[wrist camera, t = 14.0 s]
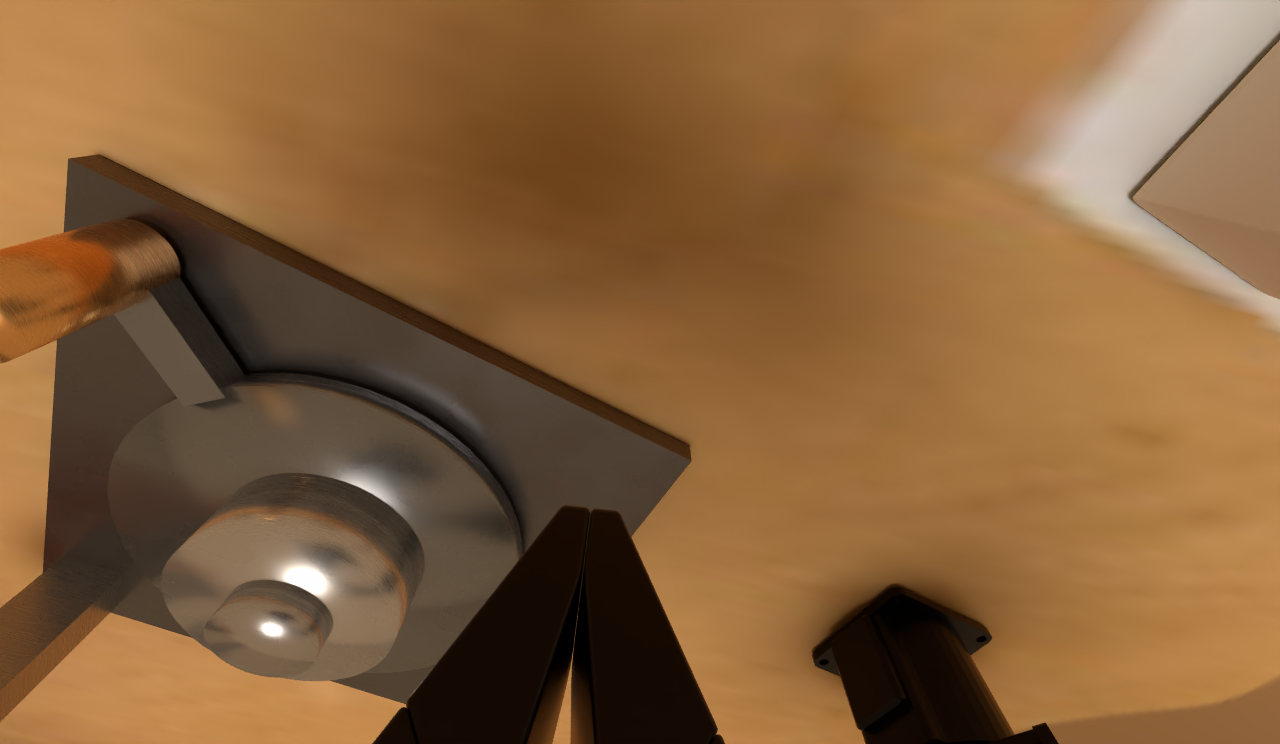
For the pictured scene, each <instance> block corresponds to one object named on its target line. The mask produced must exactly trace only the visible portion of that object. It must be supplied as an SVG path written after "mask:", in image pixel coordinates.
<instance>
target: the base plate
mask: <svg viewBox="0 0 1280 744" xmlns="http://www.w3.org/2000/svg"><path fill="white" fill-rule="evenodd" d="M114 219H131V220H135V221H138V222H141V223H143V224H145V225H147V226H149V227H151V228H152V229H154V230H155V231H157V232H158V233H159V234H160V235H161V236H162V237H163V238H165V239H166V241H167V242H168V243H169V244H170V245H171V247H172V248H173V250H174V251H175V253H176V255H177V257H178V260H179V264H180V279H181V281H182V282H183V284H184V285H185V287H186V288H187V290H188V291H189V293H190V294H191V296H192V297H193V299H194V300H195V302H196V303H197V305H198V306H199V308H200V309H201V310H202V312H203V313H204V315H205V316H206V318H207V319H208V321H209V322H210V324H211V325H212V327H213V328H214V330H215V331H216V333H217V334H218V336H219V337H220V339H221V340H222V342H223V343H224V345H225V346H226V348H227V349H228V351H229V352H230V354H231V355H232V357H233V358H234V360H235V361H236V363H237V364H238V366H239V367H240V368H241V370H242V371H243V373H244V374H249V373H291V374H302V375H312V376H317V377H322V378H327V379H332V380H337V381H342V382H345V383H348V384H352V385H355V386H358V387H361V388H365V389H368V390H371V391H373V392H376V393H378V394H381V395H383V396H386V397H388V398H390V399H393V400H395V401H398V402H400V403H402V404H404V405H405V406H407V407H409V408H411V409H413V410H415V411H417V412H419V413H420V414H422V415H424V416H426V417H427V418H429V419H430V420H432V421H433V422H435V423H436V424H438V425H439V426H441V427H442V428H444V429H445V430H447V431H448V432H450V433H451V434H452V435H453V436H454V437H456V438H457V439H458V440H459V441H460V442H462V443H463V444H464V445H465V446H466V447H468V448H469V449H470V450H471V451H472V452H473V453H474V454H475V455H476V456H477V457H478V458H479V460H480V461H481V462H482V463H483V464H484V465H485V466H486V467H487V468H488V469H489V471H490V472H491V473H492V475H493V476H494V477H495V479H496V480H497V481H498V483H499V484H500V485H501V487H502V489H503V490H504V492H505V494H506V496H507V498H508V499H509V501H510V503H511V505H512V507H513V510H514V513H515V515H516V518H517V521H518V523H519V528H520V533H521V538H522V554H524V553H525V552H526V550H527V549H528V548H529V547H530V545H531V544H532V543H533V542H534V540H535V539H536V538H537V537H538V535H539V534H540V533H541V532H542V530H543V529H544V528H545V527H546V525H547V524H548V523H549V521H550V520H551V519H552V518H553V516H554V515H555V514H556V513H557V511H558V510H559V509H560V508H561V507H562V506H564V505H570V506H579V507H587V508H588V509H589V510H590V515H591V511H592V510H593V509H595V508H598V509H607V510H615V511H618V512H619V513H620V514H621V516H622V518H623V520H624V522H625V525H626V527H627V529H628V531H629V533H630V536H632V535H633V534H634V532H635V531H636V530H637V529H638V527H639V526H640V525H641V524H642V522H643V521H644V520H645V519H646V517H647V516H648V515H649V514H650V512H651V511H652V510H653V509H654V507H655V506H656V505H657V504H658V502H659V501H660V500H661V499H662V497H663V496H664V495H665V493H666V492H667V491H668V490H669V488H670V487H671V486H672V485H673V483H674V482H675V481H676V480H677V478H678V477H679V476H680V475H681V473H682V472H683V471H684V470H685V468H686V467H687V466H688V465H689V463H690V462H691V453H690V445H687V444H685V443H683V442H681V441H679V440H677V439H675V438H673V437H671V436H669V435H667V434H665V433H663V432H661V431H659V430H657V429H655V428H653V427H651V426H649V425H647V424H645V423H643V422H641V421H639V420H637V419H635V418H633V417H631V416H629V415H627V414H625V413H622V412H620V411H618V410H616V409H614V408H612V407H610V406H608V405H606V404H604V403H602V402H600V401H598V400H596V399H594V398H592V397H590V396H588V395H586V394H584V393H582V392H580V391H578V390H576V389H574V388H572V387H570V386H568V385H566V384H564V383H562V382H560V381H557V380H555V379H553V378H551V377H549V376H547V375H545V374H543V373H541V372H539V371H537V370H535V369H533V368H531V367H529V366H527V365H525V364H523V363H521V362H519V361H517V360H515V359H513V358H511V357H509V356H507V355H505V354H503V353H501V352H499V351H497V350H495V349H492V348H490V347H488V346H486V345H484V344H482V343H480V342H478V341H476V340H474V339H472V338H470V337H468V336H466V335H464V334H462V333H460V332H458V331H456V330H454V329H452V328H450V327H448V326H446V325H444V324H442V323H440V322H438V321H436V320H434V319H432V318H430V317H427V316H425V315H423V314H421V313H419V312H417V311H415V310H413V309H411V308H409V307H407V306H405V305H403V304H401V303H399V302H397V301H395V300H393V299H391V298H389V297H387V296H385V295H383V294H381V293H379V292H377V291H375V290H373V289H371V288H369V287H367V286H365V285H362V284H360V283H358V282H356V281H354V280H352V279H350V278H348V277H346V276H344V275H342V274H340V273H338V272H336V271H334V270H332V269H330V268H328V267H326V266H324V265H322V264H320V263H318V262H316V261H314V260H312V259H310V258H308V257H306V256H304V255H302V254H300V253H297V252H295V251H293V250H291V249H289V248H287V247H285V246H283V245H281V244H279V243H277V242H275V241H273V240H271V239H269V238H267V237H265V236H263V235H261V234H259V233H257V232H255V231H253V230H251V229H249V228H247V227H245V226H243V225H241V224H239V223H237V222H235V221H232V220H230V219H228V218H226V217H224V216H222V215H220V214H218V213H216V212H214V211H212V210H210V209H208V208H206V207H204V206H202V205H200V204H198V203H196V202H194V201H192V200H190V199H188V198H186V197H184V196H182V195H180V194H178V193H176V192H174V191H172V190H170V189H167V188H165V187H163V186H161V185H159V184H157V183H155V182H153V181H151V180H149V179H147V178H145V177H143V176H141V175H139V174H137V173H135V172H133V171H131V170H129V169H127V168H125V167H123V166H121V165H119V164H117V163H115V162H113V161H111V160H109V159H107V158H105V157H103V156H100V155H92V156H84V157H77V158H70V159H68V172H67V188H66V204H65V221H64V233H65V232H69V231H72V230H76V229H80V228H84V227H88V226H91V225H95V224H99V223H103V222H107V221H110V220H114ZM174 397H175V394H174V393H173V392H172V390H171V389H170V388H169V386H168V385H167V384H166V382H165V381H164V380H163V378H162V377H161V376H160V375H159V373H158V372H157V371H156V369H155V368H154V367H153V365H152V364H151V363H150V361H149V360H148V359H147V357H146V356H145V355H144V353H143V352H142V351H141V349H140V348H139V347H138V346H137V344H136V343H135V342H134V340H133V339H132V338H131V336H130V335H129V334H128V332H127V331H126V330H125V328H124V327H123V326H122V324H121V323H120V322H119V321H118V319H117V318H116V317H115V315H112V316H109V317H107V318H105V319H103V320H100V321H98V322H96V323H94V324H91V325H89V326H87V327H85V328H82V329H80V330H78V331H76V332H73V333H71V334H69V335H66V336H64V337H62V338H60V339H57V351H56V368H55V384H54V400H53V417H52V433H51V449H50V466H49V482H48V498H47V515H46V531H45V547H44V564H43V573H44V572H45V571H46V570H48V569H49V568H50V567H51V566H52V565H54V564H55V563H56V562H57V561H58V560H60V559H61V558H62V557H63V556H67V557H70V558H74V559H77V560H80V561H83V562H86V563H89V564H92V565H95V566H98V567H101V568H104V569H107V570H110V571H113V572H116V573H119V574H122V575H123V578H122V584H121V590H120V596H119V602H118V605H117V606H116V607H115V608H114V609H113V610H112V611H111V613H114V614H118V615H121V616H124V617H127V618H130V619H134V620H137V621H140V622H143V623H146V624H150V625H153V626H156V627H159V628H163V629H166V630H169V631H172V632H175V633H179V634H182V635H185V636H188V637H191V636H190V635H189V634H188V633H187V632H186V631H185V630H184V629H183V628H182V627H181V626H180V625H179V623H178V622H177V621H176V620H175V619H174V617H173V616H172V614H171V613H170V611H169V610H168V607H167V605H166V603H165V601H164V598H163V594H162V592H161V591H160V590H159V589H158V588H157V587H156V586H155V585H154V584H153V583H152V582H151V581H150V580H149V579H148V578H147V577H146V575H145V574H144V573H143V572H142V571H141V570H140V569H139V567H138V566H137V565H136V563H135V562H134V560H133V559H132V557H131V556H130V554H129V553H128V552H127V550H126V548H125V546H124V545H123V543H122V541H121V539H120V537H119V535H118V533H117V531H116V528H115V525H114V522H113V519H112V516H111V513H110V507H109V500H108V493H107V491H108V476H109V470H110V467H111V464H112V460H113V457H114V454H115V453H116V451H117V449H118V447H119V446H120V444H121V442H122V440H123V438H124V437H125V436H126V435H127V434H128V433H129V432H130V431H131V430H132V429H133V427H134V426H135V425H136V424H137V423H138V422H140V421H141V420H142V419H144V418H145V417H146V416H148V415H149V414H151V413H152V412H153V411H155V410H156V409H158V408H159V407H161V406H162V405H164V404H165V403H167V402H168V401H170V400H171V399H172V398H174ZM589 522H590V520H589ZM588 530H589V528H588ZM587 538H588V536H587ZM586 546H587V544H586ZM585 554H586V552H585ZM584 562H585V560H584ZM583 570H584V568H583ZM582 578H583V576H582ZM581 586H582V584H581ZM580 594H581V592H580ZM579 602H580V600H579ZM191 638H193V637H191ZM434 666H435V665H432V666H429V667H425V668H420V669H415V670H409V671H402V672H391V673H361V674H358V675H355V676H352V677H348V678H343V679H338V680H330V681H333V682H336V683H339V684H343V685H346V686H349V687H352V688H356V689H359V690H362V691H365V692H368V693H372V694H375V695H378V696H381V697H384V698H388V699H391V700H394V701H397V702H401V703H404V704H406V702H407V700H408V699H409V697H410V696H411V695H412V694H413V692H414V691H415V690H416V689H417V687H418V686H419V685H420V684H421V682H422V681H423V680H424V679H425V677H426V676H427V675H428V674H429V672H430V671H431V670H432V669H433V667H434Z"/></svg>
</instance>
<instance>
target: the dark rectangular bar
mask: <svg viewBox="0 0 1280 744" xmlns="http://www.w3.org/2000/svg"><path fill="white" fill-rule="evenodd" d="M122 578H123V575H122V574H119V573H116V572H113V571H110V570H107V569H104V568H101V567H98V566H95V565H92V564H89V563H86V562H83V561H80V560H77V559H74V558H70V557H67V556H63V557H62V558H61V559H60V560H58V561H57V562H56V563H55V564H54V565H52V566H51V567H50V568H49V569H48V570H46V571H45V572H44V573H43V574H41V575H40V576H39V577H38V578H37V579H35V580H34V581H33V582H32V583H30V584H29V585H28V586H27V587H26V588H24V589H23V590H22V591H21V592H19V593H18V594H17V595H16V596H15V597H13V598H12V599H11V600H10V601H8V602H7V603H6V604H5V605H4V606H2V607H1V608H0V722H1V721H2V720H3V719H4V718H5V717H6V716H7V715H8V714H9V713H10V712H11V711H12V710H13V709H14V708H15V707H16V706H17V705H18V704H19V703H20V702H21V701H22V700H23V699H24V698H25V697H26V696H27V695H28V694H29V693H30V692H31V691H32V690H33V689H34V688H35V687H36V686H37V685H38V684H39V683H40V682H41V681H42V680H43V679H44V678H45V677H46V676H47V675H48V674H49V673H50V672H51V671H52V670H53V669H54V668H55V667H56V666H57V665H58V664H59V663H60V662H61V661H62V660H63V659H64V658H65V657H66V656H67V655H68V654H69V653H70V652H71V651H72V650H73V649H74V648H75V647H76V646H77V645H78V644H79V643H80V642H81V641H82V640H83V639H84V638H85V637H86V636H87V635H88V634H89V633H90V632H91V631H92V630H93V629H94V628H95V627H96V626H97V625H98V624H99V623H100V622H101V621H102V620H103V619H104V618H105V617H106V616H107V615H108V614H109V613H110V612H111V611H112V610H113V609H114V608H115V607H116V606H117V605H118V602H119V596H120V590H121V584H122Z"/></svg>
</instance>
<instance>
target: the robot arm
mask: <svg viewBox="0 0 1280 744" xmlns="http://www.w3.org/2000/svg"><path fill="white" fill-rule="evenodd" d="M589 520H590V522H589ZM588 528H589V530H588ZM587 536H588V538H587ZM586 544H587V546H586ZM585 552H586V554H585ZM584 560H585V562H584ZM583 568H584V570H583ZM582 576H583V578H582ZM581 584H582V586H581ZM580 592H581V594H580ZM579 600H580V602H579ZM578 607H579V610H578ZM577 615H578V618H577ZM576 623H577V626H576ZM575 631H576V634H575ZM574 639H575V642H574ZM991 639H992V636H991V634H990V633H989V631H988V629H987V628H986V627H984V626H982V625H980V624H978V623H976V622H974V621H972V620H970V619H967V618H965V617H963V616H961V615H959V614H957V613H955V612H952V611H950V610H948V609H946V608H944V607H942V606H940V605H938V604H935V603H933V602H931V601H929V600H927V599H925V598H923V597H921V596H918V595H916V594H914V593H912V592H910V591H908V590H906V589H904V588H900V587H895V588H891V589H890V590H888V591H887V592H886V593H884V594H883V595H882V596H881V597H880V598H878V599H877V600H876V601H875V602H874V603H872V604H871V605H870V606H869V607H868V608H866V609H865V610H864V611H863V612H862V613H860V614H859V615H858V616H857V617H856V618H854V619H853V620H852V621H851V622H850V623H848V624H847V625H846V626H845V627H844V628H842V629H841V630H840V631H839V632H838V633H836V634H835V635H834V636H833V637H832V638H830V639H829V640H828V641H827V642H826V643H824V644H823V645H822V646H821V647H820V648H818V649H817V650H816V651H815V652H814V653H813V655H812V657H813V661H814V664H815V666H817V667H818V668H821V669H823V670H826V671H828V672H831V673H833V674H836V675H838V676H840V677H841V680H842V683H843V687H844V690H845V693H846V696H847V699H848V702H849V705H850V708H851V711H852V714H853V717H854V720H855V723H856V726H857V728H858V729H860V730H861V731H862V734H863V737H864V740H865V743H866V744H1058V742H1057V740H1056V739H1055V737H1054V736H1053V734H1052V732H1051V731H1050V729H1049V727H1048V726H1047V724H1046V723H1042V724H1039V725H1035V726H1032V728H1033V729H1032V730H1029V731H1026V732H1023V733H1019V734H1016V735H1015V734H1014V732H1013V731H1012V729H1011V727H1010V725H1009V724H1008V722H1007V720H1006V718H1005V716H1004V715H1003V713H1002V711H1001V709H1000V708H999V706H998V704H997V702H996V700H995V699H994V697H993V695H992V693H991V692H990V690H989V688H988V686H987V684H986V683H985V681H984V679H983V677H982V676H981V674H980V672H979V670H978V668H977V667H976V665H975V663H974V661H973V660H972V658H971V656H970V655H971V654H973V653H974V652H976V651H977V650H979V649H980V648H981V647H983V646H984V645H986V644H987V643H989V642H990V641H991ZM573 647H574V650H573ZM572 654H573V661H572V678H571V744H725V743H724V740H723V738H722V736H721V735H716V734H717V731H718V728H717V726H716V723H715V721H714V719H713V717H712V715H711V712H710V710H709V708H708V706H707V704H706V701H705V699H704V697H703V695H702V693H701V690H700V688H699V686H698V684H697V681H696V679H695V677H694V675H693V673H692V670H691V668H690V666H689V664H688V662H687V659H686V657H685V655H684V653H683V651H682V648H681V646H680V644H679V642H678V639H677V637H676V635H675V633H674V631H673V628H672V626H671V624H670V622H669V620H668V617H667V615H666V613H665V611H664V609H663V606H662V604H661V602H660V600H659V597H658V595H657V593H656V591H655V589H654V586H653V584H652V582H651V580H650V578H649V575H648V573H647V571H646V569H645V567H644V564H643V562H642V560H641V558H640V556H639V553H638V551H637V549H636V547H635V544H634V542H633V540H632V538H631V536H630V533H629V531H628V529H627V527H626V525H625V522H624V520H623V518H622V516H621V514H620V513H619V512H618V511H615V510H607V509H598V508H595V509H593V510H592V511H591V515H590V510H589V509H588V508H587V507H579V506H570V505H564V506H562V507H561V508H560V509H559V510H558V511H557V513H556V514H555V515H554V516H553V518H552V519H551V520H550V521H549V523H548V524H547V525H546V527H545V528H544V529H543V530H542V532H541V533H540V534H539V535H538V537H537V538H536V539H535V540H534V542H533V543H532V544H531V545H530V547H529V548H528V549H527V550H526V552H525V553H524V554H523V555H522V557H521V558H520V559H519V560H518V562H517V563H516V564H515V565H514V567H513V568H512V569H511V570H510V572H509V573H508V574H507V576H506V577H505V578H504V579H503V581H502V582H501V583H500V584H499V586H498V587H497V588H496V589H495V591H494V592H493V593H492V594H491V596H490V597H489V598H488V599H487V601H486V602H485V603H484V604H483V606H482V607H481V608H480V609H479V611H478V612H477V613H476V614H475V616H474V617H473V618H472V620H471V621H470V622H469V623H468V625H467V626H466V627H465V628H464V630H463V631H462V632H461V633H460V635H459V636H458V637H457V638H456V640H455V641H454V642H453V643H452V645H451V646H450V647H449V648H448V650H447V651H446V652H445V653H444V655H443V656H442V657H441V658H440V660H439V661H438V662H437V664H436V665H435V666H434V667H433V669H432V670H431V671H430V672H429V674H428V675H427V676H426V677H425V679H424V680H423V681H422V682H421V684H420V685H419V686H418V687H417V689H416V690H415V691H414V692H413V694H412V695H411V696H410V697H409V699H408V700H407V702H406V708H405V707H403V708H401V709H400V710H399V711H398V712H397V713H396V715H395V716H394V717H393V718H392V720H391V721H390V722H389V723H388V725H387V726H386V727H385V728H384V730H383V731H382V732H381V733H380V735H379V736H378V737H377V738H376V740H375V741H374V742H373V743H372V744H552V742H553V738H554V734H555V730H556V726H557V722H558V718H559V714H560V710H561V705H562V701H563V697H564V693H565V689H566V685H567V680H568V676H569V671H570V666H571V660H572Z"/></svg>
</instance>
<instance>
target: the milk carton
mask: <svg viewBox="0 0 1280 744" xmlns="http://www.w3.org/2000/svg"><path fill="white" fill-rule="evenodd" d="M1133 200H1134V201H1135V202H1136V203H1137V204H1138V205H1139V206H1141V207H1142V208H1143V209H1145V210H1146V211H1148V212H1149V213H1150V214H1152V215H1153V216H1155V217H1156V218H1157V219H1159V220H1160V221H1162V222H1163V223H1165V224H1166V225H1167V226H1169V227H1170V228H1172V229H1173V230H1175V231H1176V232H1177V233H1179V234H1180V235H1182V236H1183V237H1185V238H1186V239H1187V240H1189V241H1190V242H1192V243H1193V244H1195V245H1196V246H1197V247H1199V248H1200V249H1202V250H1203V251H1205V252H1206V253H1207V254H1209V255H1210V256H1212V257H1213V258H1215V259H1216V260H1217V261H1219V262H1220V263H1222V264H1223V265H1225V266H1226V267H1227V268H1229V269H1230V270H1232V271H1233V272H1235V273H1236V274H1237V275H1239V276H1240V277H1242V278H1243V279H1245V280H1246V281H1247V282H1249V283H1250V284H1252V285H1253V286H1255V287H1256V288H1257V289H1259V290H1261V291H1262V292H1264V293H1266V294H1267V295H1270V296H1272V297H1275V298H1278V299H1280V40H1279V41H1278V42H1277V44H1276V45H1275V46H1274V47H1273V48H1272V49H1271V50H1270V51H1269V52H1268V53H1267V54H1266V55H1265V56H1264V57H1263V58H1262V59H1261V61H1260V62H1259V63H1258V64H1257V65H1256V66H1255V67H1254V68H1253V69H1252V70H1251V71H1250V72H1249V73H1248V74H1247V75H1246V76H1245V78H1244V79H1243V80H1242V81H1241V82H1240V83H1239V84H1238V85H1237V86H1236V87H1235V88H1234V89H1233V90H1232V91H1231V92H1230V93H1229V95H1228V96H1227V97H1226V98H1225V99H1224V100H1223V101H1222V102H1221V103H1220V104H1219V105H1218V106H1217V107H1216V108H1215V109H1214V111H1213V112H1212V113H1211V114H1210V115H1209V116H1208V117H1207V118H1206V119H1205V120H1204V121H1203V122H1202V123H1201V124H1200V125H1199V126H1198V128H1197V129H1196V130H1195V131H1194V132H1193V133H1192V134H1191V135H1190V136H1189V137H1188V138H1187V139H1186V140H1185V141H1184V142H1183V144H1182V145H1181V146H1180V147H1179V148H1178V149H1177V150H1176V151H1175V152H1174V153H1173V154H1172V155H1171V156H1170V157H1169V158H1168V160H1167V161H1166V162H1165V163H1164V164H1163V165H1162V166H1161V167H1160V168H1159V169H1158V170H1157V171H1156V172H1155V173H1154V175H1153V176H1152V177H1151V178H1150V179H1149V180H1148V181H1147V182H1146V183H1145V184H1144V185H1143V186H1142V187H1141V188H1140V190H1139V191H1138V192H1137V193H1136V194H1135V195H1134V196H1133Z"/></svg>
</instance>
